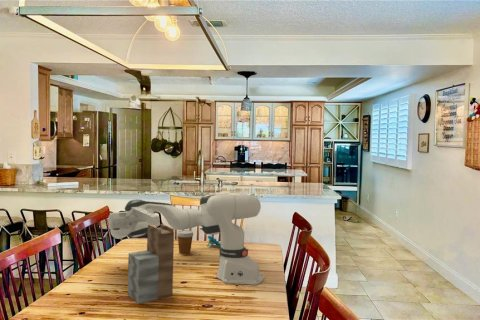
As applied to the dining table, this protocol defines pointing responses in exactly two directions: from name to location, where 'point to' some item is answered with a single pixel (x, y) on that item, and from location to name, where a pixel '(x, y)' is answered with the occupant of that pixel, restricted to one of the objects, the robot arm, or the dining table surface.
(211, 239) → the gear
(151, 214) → the steel bar
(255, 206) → the robot arm
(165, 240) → the stand
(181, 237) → the disposable coffee cup
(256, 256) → the dining table surface
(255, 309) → the dining table surface
